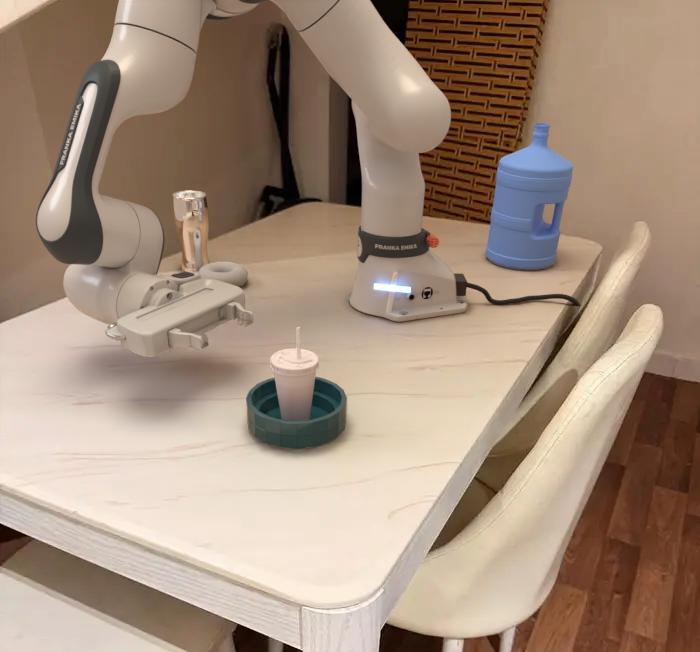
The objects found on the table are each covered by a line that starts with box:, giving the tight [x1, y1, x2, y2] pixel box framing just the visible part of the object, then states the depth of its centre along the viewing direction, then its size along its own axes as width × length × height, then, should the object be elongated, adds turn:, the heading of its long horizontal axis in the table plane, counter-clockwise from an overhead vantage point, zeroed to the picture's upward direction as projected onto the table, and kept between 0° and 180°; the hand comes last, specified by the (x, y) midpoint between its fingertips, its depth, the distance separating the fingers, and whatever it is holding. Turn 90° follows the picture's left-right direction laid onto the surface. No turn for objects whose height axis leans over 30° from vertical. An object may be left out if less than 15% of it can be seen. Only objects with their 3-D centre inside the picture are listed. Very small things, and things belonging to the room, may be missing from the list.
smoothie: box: [269, 326, 320, 421], centre depth 92 cm, size 6×6×14 cm
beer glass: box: [172, 189, 211, 273], centre depth 144 cm, size 7×7×15 cm
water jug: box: [485, 122, 574, 271], centre depth 151 cm, size 16×16×28 cm
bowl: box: [245, 376, 348, 450], centre depth 95 cm, size 13×13×4 cm
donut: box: [198, 260, 249, 288], centre depth 140 cm, size 10×4×10 cm
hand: (228, 330), depth 95 cm, fingers open, 8 cm apart
